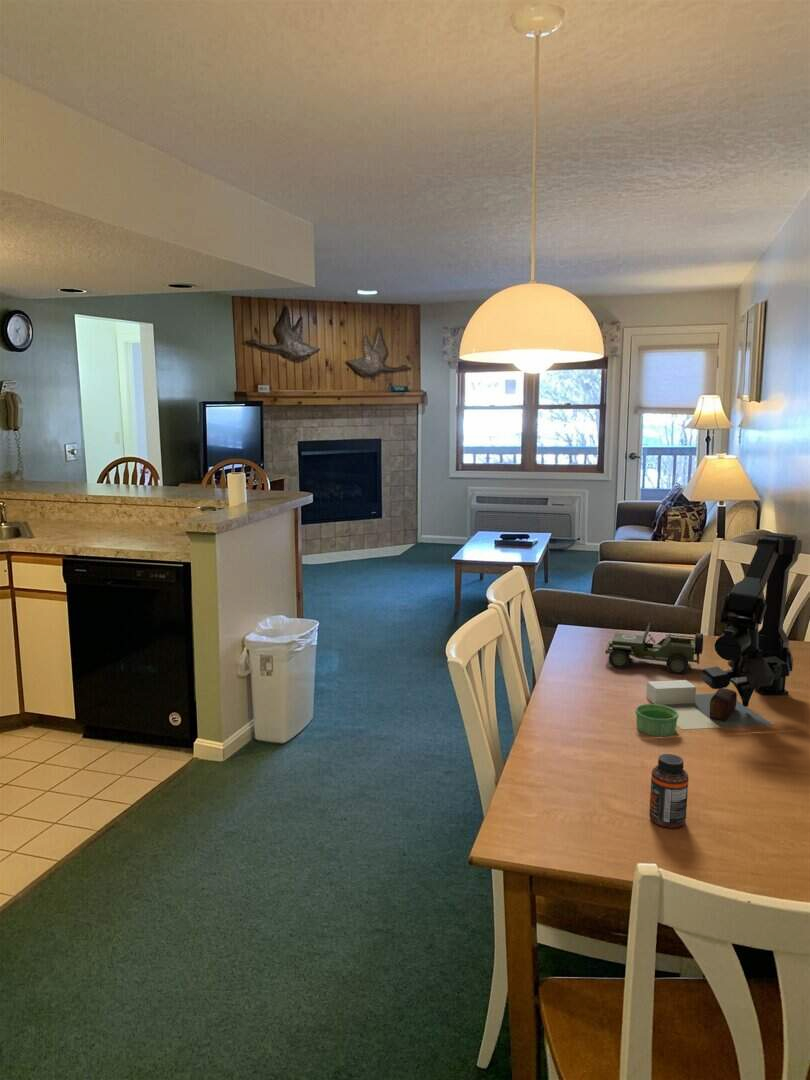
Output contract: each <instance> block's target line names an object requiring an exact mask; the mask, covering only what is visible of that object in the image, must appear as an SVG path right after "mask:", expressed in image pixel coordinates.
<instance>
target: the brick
mask: <svg viewBox="0 0 810 1080" xmlns="http://www.w3.org/2000/svg"><path fill="white" fill-rule="evenodd" d="M737 693H738V692H736V691H735V690H732V689H729V688H720V689H716V692H715V693H713V694H714V696H713V697H712V698H711V701H710V718H712V719H718V720H723V721H726V720H727V719H728V717H730V715H731V714H732V712H733V711H734V709H735V708H736V701H738V700H737V696H738V694H737Z"/></svg>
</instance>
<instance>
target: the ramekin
mask: <svg viewBox="0 0 810 1080" xmlns="http://www.w3.org/2000/svg"><path fill="white" fill-rule="evenodd" d="M635 715H636V728H637V730H638V731H640V732H641V733H643V734H645V735H649V736H653V737H662V738H666V737H669V736H673V735H674V734H675V733H676V729H677V725H676V724H677V718H678V716H679V714H678V712H677V711H676V710H675V709H673V708H671V707H668V706H664V705H659V704H653V703H645V704H640V705H638V706H636V707H635Z"/></svg>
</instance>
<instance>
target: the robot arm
mask: <svg viewBox="0 0 810 1080" xmlns="http://www.w3.org/2000/svg"><path fill="white" fill-rule="evenodd" d="M756 543H757V544H756V550H755V552H754V555H753V557H752V558H751V562H750V564H749V566H748V567H747V570H746V572H745V575H744V577H743V579H742V580H740V581H738V582H736V583H735V584H733V586H732V588H731V590H730V591H729V593H727V594H726V597H725V599H724V604H723V607H722V612H721V615H720V619H719V620H720V621H719V624H722V625H723V624H724V625H726V628H725V629H724V631H723V633H722V634H721V635H720V636H719V637H718V638H717V639H716V641H715V643H714V650H715V653H716V654H717V655H718V657H720V658H721V659H723V660H725V661H727V664H728V666H729V668H731V669H728V670H727V669H726V670H723V669H721V667H719V666H711V667H707V668H703V669H702V670H701V672H700V680H701V681H703V683H705V684H706V685H707V686H708V687H709V688H710V689H714V690H718V689H720V688H725V689H727V687H728V686H729V685H730V683H732V684H733V686H734V687H735V688H736V690H737V693H738V694H739V696H740V699H741V703H742V704H743V706H744V707H749V705H750V704H749V703H750V699H751V698H752V695H753V693H754V691H755V690H757V691H758V692H759V693H760V694H762V695H766V696H769V695H773V696H774V695H788V694H789V691H788V690H786V680H787V678H786V677H789V676H790V675H791V672H793V667H794V663H793V662H794V658H793V654H792V651H791V649H790V647H789V646H790V645H789V643H790V640H789V637H788V636H787V634H786V632H785V630H784V623H785V611H786V603H787V592H788V583H789V575H790V570H791V568H793V566H794V565H795V564H796V563H797V561H798V560H799V559H798V558H799V555H800V554H801V552H802V547H803V543H802V540H801V539H798V536H797V535H796V534H789V533H781V532H780V533H779V532H768V533H767V535H765V536H764V535H763V536H762V535H761V536H760V535H759V537H758V539H757V542H756ZM764 590H765V593H764ZM729 614H730V615H729ZM731 615H732V616H731ZM760 625H761V628H760V629H759V626H760Z"/></svg>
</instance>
